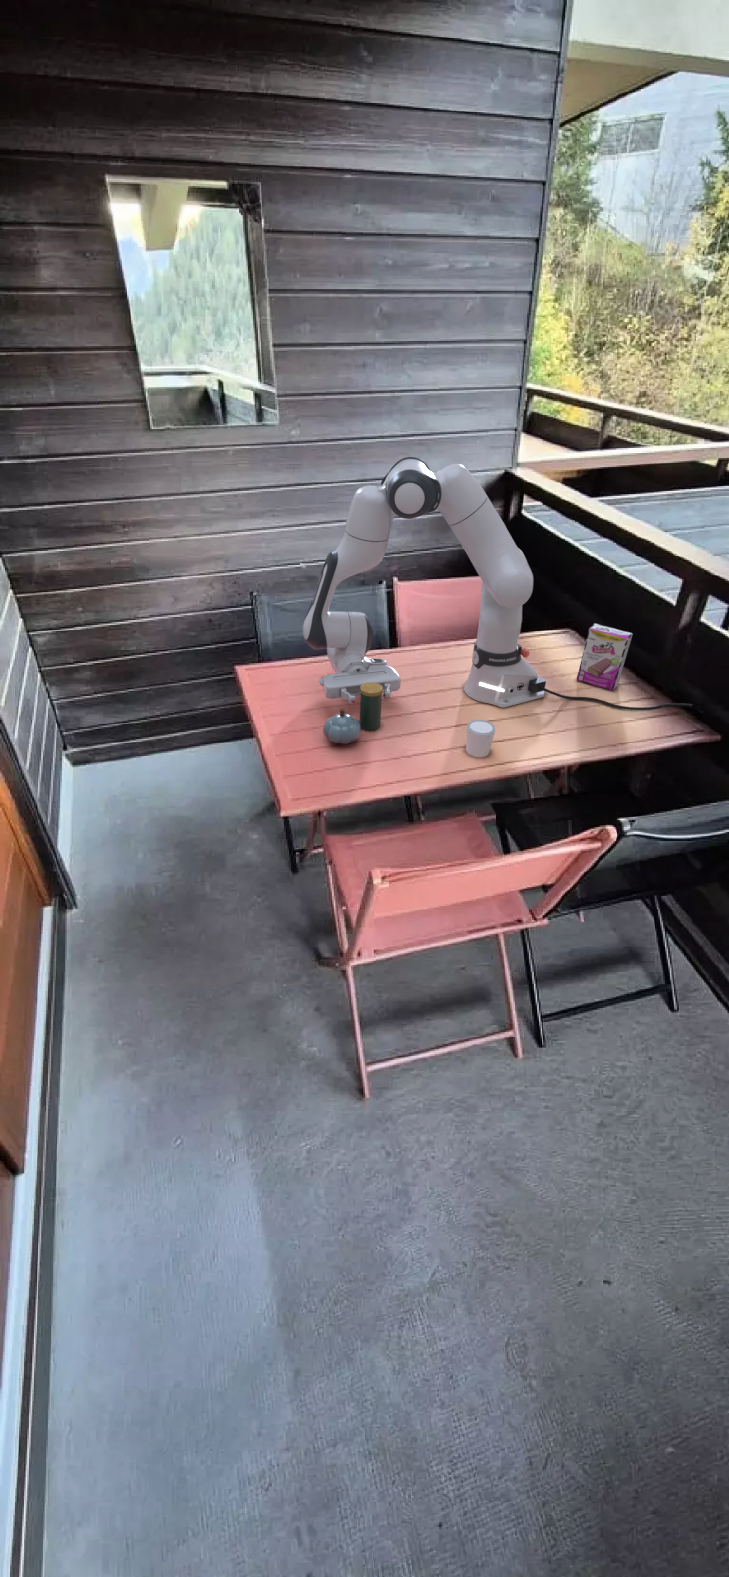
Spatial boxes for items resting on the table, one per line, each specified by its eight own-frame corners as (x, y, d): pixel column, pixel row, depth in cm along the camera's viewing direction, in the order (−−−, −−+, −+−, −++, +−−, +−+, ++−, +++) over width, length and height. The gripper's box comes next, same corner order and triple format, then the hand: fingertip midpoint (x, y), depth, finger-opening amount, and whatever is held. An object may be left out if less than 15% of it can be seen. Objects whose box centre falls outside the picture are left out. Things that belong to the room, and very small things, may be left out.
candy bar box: (575, 681, 203) (588, 628, 194) (581, 674, 207) (593, 622, 197) (613, 692, 199) (628, 638, 189) (618, 685, 202) (633, 632, 192)
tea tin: (376, 718, 183) (378, 681, 176) (383, 729, 179) (385, 691, 172) (356, 721, 182) (357, 683, 175) (362, 732, 177) (364, 694, 171)
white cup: (490, 760, 169) (494, 736, 165) (462, 756, 170) (465, 732, 166) (492, 745, 174) (496, 721, 170) (464, 741, 175) (468, 717, 171)
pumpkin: (354, 728, 179) (355, 697, 174) (365, 747, 172) (366, 716, 166) (319, 732, 176) (318, 702, 171) (328, 753, 169) (328, 721, 164)
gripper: (316, 666, 182) (330, 691, 172) (390, 658, 188) (408, 682, 177) (316, 688, 186) (330, 714, 176) (389, 679, 191) (406, 704, 181)
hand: (370, 698), depth 176 cm, fingers open, 8 cm apart
